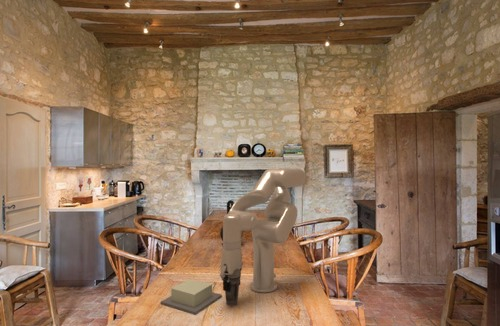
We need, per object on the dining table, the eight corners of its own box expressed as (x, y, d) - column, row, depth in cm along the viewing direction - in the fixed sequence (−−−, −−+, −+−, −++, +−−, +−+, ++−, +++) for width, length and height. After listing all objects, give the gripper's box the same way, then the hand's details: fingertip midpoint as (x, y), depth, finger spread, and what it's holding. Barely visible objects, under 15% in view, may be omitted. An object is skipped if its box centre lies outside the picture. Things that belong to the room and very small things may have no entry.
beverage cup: (226, 308, 130) (226, 259, 129) (220, 301, 136) (220, 253, 136) (243, 305, 133) (243, 256, 132) (236, 298, 139) (237, 251, 139)
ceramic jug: (247, 245, 218) (247, 201, 218) (227, 249, 210) (227, 203, 209) (234, 240, 233) (234, 198, 232) (214, 243, 224) (215, 200, 223)
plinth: (189, 288, 149) (189, 275, 149) (221, 296, 141) (221, 283, 140) (160, 304, 134) (160, 289, 133) (195, 314, 125) (195, 299, 125)
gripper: (235, 238, 143) (235, 278, 144) (212, 248, 128) (212, 293, 129) (250, 241, 140) (250, 282, 140) (228, 251, 124) (228, 297, 125)
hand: (231, 287), depth 134 cm, fingers closed on beverage cup, 6 cm apart
